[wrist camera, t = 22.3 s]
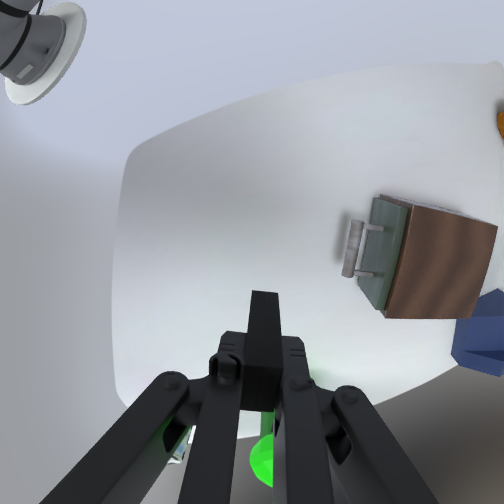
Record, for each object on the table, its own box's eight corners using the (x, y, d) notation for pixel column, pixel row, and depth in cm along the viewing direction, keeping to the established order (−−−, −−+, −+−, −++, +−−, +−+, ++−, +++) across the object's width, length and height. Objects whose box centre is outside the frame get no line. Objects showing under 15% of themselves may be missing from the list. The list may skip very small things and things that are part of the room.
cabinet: (361, 285, 39) (385, 318, 30) (379, 194, 35) (413, 204, 26) (439, 291, 39) (470, 318, 30) (459, 212, 35) (498, 226, 25)
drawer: (329, 281, 38) (343, 308, 31) (345, 192, 34) (365, 200, 27) (433, 289, 38) (458, 312, 30) (452, 214, 34) (483, 226, 27)
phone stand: (458, 306, 40) (493, 340, 28) (497, 288, 38) (533, 314, 27) (450, 354, 43) (477, 390, 32) (489, 335, 42) (517, 364, 30)
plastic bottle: (246, 392, 47) (234, 513, 23) (272, 354, 44) (273, 492, 20) (294, 406, 48) (301, 519, 24) (323, 371, 44) (348, 496, 21)
